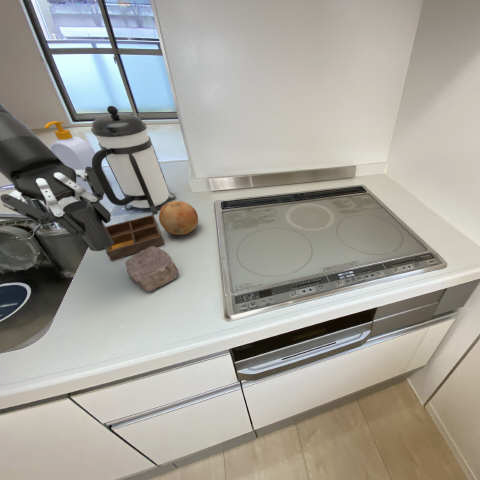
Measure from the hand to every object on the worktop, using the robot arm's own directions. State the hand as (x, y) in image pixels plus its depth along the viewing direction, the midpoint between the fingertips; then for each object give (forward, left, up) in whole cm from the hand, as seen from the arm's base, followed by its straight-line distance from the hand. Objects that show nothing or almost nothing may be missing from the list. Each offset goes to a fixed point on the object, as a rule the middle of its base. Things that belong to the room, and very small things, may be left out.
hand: (95, 227), depth 47 cm
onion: (+14, +18, -18) cm, 29 cm away
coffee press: (+8, +38, -18) cm, 43 cm away
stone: (+4, +4, -18) cm, 19 cm away
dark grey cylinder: (-1, +2, -5) cm, 5 cm away
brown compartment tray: (+2, +20, -18) cm, 27 cm away
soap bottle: (-7, +59, -18) cm, 62 cm away
